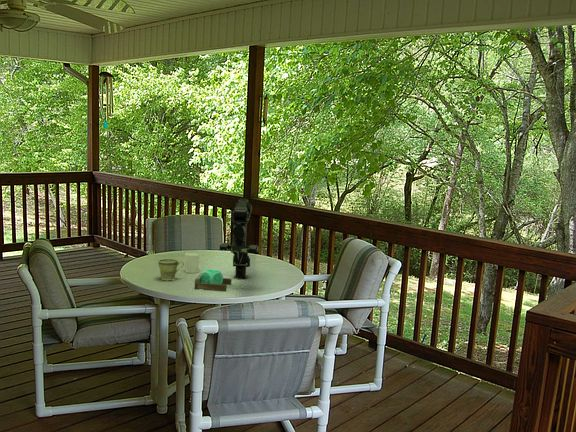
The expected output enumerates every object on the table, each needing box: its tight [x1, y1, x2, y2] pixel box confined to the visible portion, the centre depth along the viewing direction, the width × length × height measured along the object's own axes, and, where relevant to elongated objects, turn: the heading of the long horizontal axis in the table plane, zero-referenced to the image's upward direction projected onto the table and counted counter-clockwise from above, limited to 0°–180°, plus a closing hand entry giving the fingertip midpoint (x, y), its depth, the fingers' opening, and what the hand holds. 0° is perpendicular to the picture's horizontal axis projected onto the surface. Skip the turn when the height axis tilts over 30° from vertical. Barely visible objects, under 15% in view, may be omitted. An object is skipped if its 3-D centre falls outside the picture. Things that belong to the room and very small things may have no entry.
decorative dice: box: [201, 268, 224, 284], centre depth 277 cm, size 8×8×8 cm
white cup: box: [184, 252, 200, 274], centre depth 305 cm, size 8×8×10 cm
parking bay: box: [194, 272, 232, 292], centre depth 277 cm, size 14×16×5 cm
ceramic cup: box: [157, 258, 185, 281], centre depth 287 cm, size 13×10×10 cm
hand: (238, 264), depth 277 cm, fingers closed
